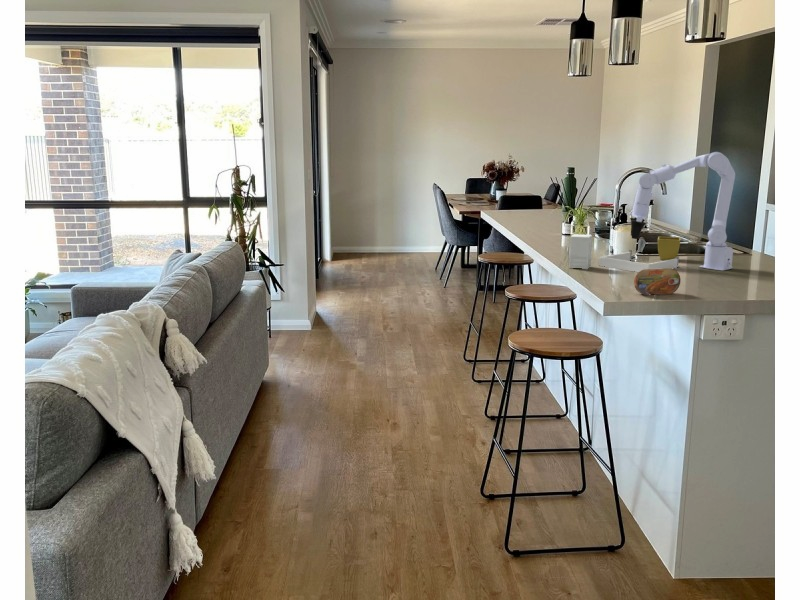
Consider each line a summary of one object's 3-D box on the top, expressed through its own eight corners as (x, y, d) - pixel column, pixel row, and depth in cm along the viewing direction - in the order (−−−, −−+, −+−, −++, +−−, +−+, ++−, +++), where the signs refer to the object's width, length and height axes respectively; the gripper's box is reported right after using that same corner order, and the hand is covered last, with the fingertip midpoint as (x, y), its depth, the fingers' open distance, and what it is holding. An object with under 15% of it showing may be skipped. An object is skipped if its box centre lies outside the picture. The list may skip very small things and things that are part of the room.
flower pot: (655, 260, 286) (657, 238, 284) (656, 257, 294) (658, 236, 292) (678, 261, 283) (680, 240, 281) (678, 258, 291) (680, 237, 289)
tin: (636, 295, 221) (638, 269, 219) (631, 293, 224) (633, 268, 222) (680, 294, 223) (682, 268, 222) (674, 292, 226) (676, 266, 225)
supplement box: (591, 266, 272) (593, 234, 269) (587, 269, 265) (589, 237, 262) (572, 265, 275) (573, 233, 272) (568, 268, 268) (570, 235, 266)
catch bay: (677, 267, 270) (678, 256, 269) (647, 273, 258) (648, 262, 257) (629, 260, 287) (630, 249, 286) (598, 265, 274) (599, 254, 273)
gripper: (630, 200, 282) (623, 233, 285) (632, 203, 268) (624, 238, 272) (648, 203, 280) (640, 236, 284) (651, 206, 266) (642, 241, 270)
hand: (633, 237), depth 278 cm, fingers open, 7 cm apart
